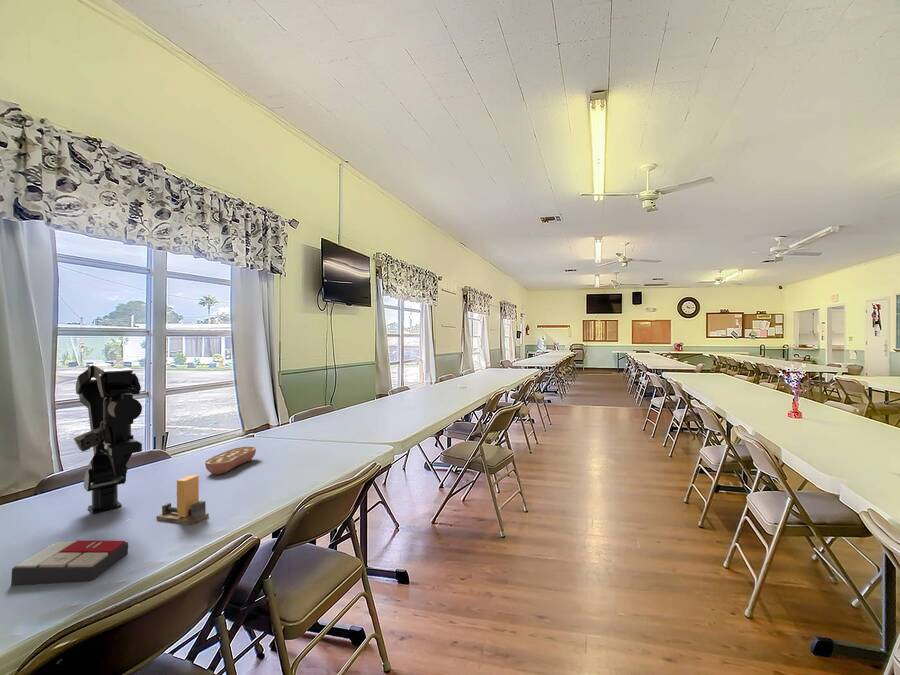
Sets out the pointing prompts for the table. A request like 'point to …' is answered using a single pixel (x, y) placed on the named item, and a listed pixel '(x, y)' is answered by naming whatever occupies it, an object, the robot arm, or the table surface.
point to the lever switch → (194, 517)
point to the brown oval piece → (229, 459)
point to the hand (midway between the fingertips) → (117, 475)
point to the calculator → (69, 562)
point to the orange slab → (187, 494)
